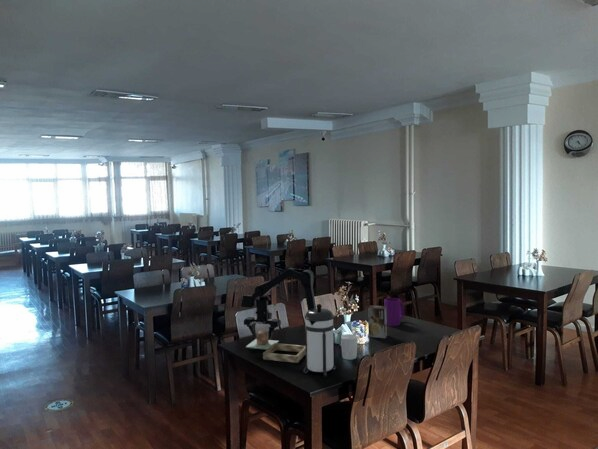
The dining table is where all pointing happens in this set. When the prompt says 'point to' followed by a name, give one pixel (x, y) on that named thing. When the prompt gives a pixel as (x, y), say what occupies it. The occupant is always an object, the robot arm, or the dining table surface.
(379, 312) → the coffee box
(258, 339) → the terracotta block
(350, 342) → the white cup
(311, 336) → the coffee press
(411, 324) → the dining table surface
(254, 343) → the sage board
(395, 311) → the mug
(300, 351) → the pine frame
